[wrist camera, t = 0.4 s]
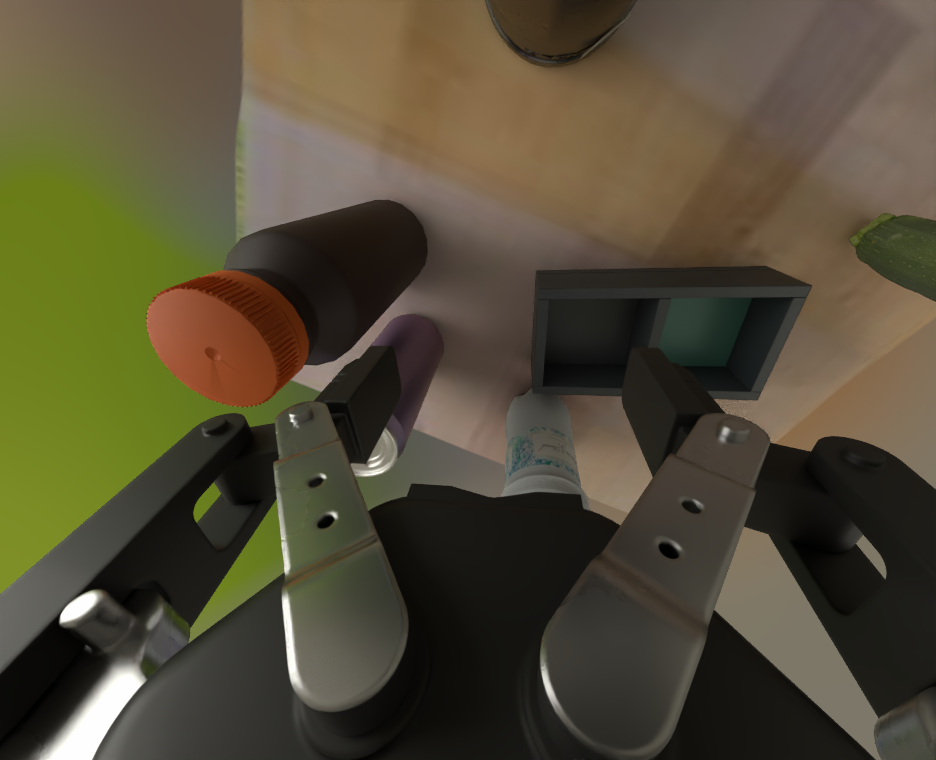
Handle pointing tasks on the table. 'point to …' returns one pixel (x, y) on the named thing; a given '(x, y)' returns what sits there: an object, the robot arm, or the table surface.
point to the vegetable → (901, 251)
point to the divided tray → (662, 326)
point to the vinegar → (286, 300)
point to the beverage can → (405, 385)
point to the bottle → (540, 447)
